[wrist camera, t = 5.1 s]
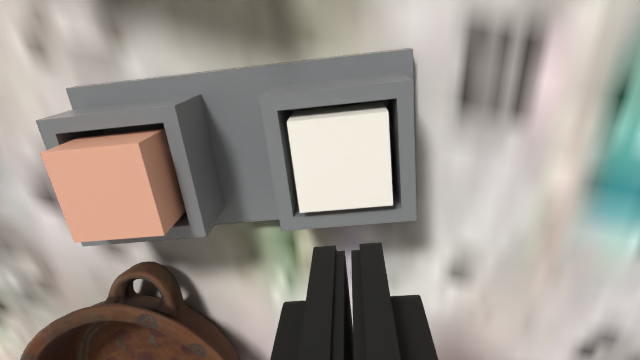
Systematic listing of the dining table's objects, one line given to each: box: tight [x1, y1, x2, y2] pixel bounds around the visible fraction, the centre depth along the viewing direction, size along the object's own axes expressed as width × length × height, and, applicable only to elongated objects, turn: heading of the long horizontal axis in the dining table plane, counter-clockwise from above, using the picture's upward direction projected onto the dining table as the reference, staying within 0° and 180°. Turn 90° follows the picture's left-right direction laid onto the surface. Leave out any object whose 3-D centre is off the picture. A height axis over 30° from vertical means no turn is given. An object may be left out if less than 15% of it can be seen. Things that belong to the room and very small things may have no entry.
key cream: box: [287, 101, 393, 213], centre depth 21 cm, size 5×5×3 cm
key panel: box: [36, 48, 417, 246], centre depth 23 cm, size 21×10×5 cm, turn 96°
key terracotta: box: [41, 129, 186, 243], centre depth 21 cm, size 5×5×3 cm
